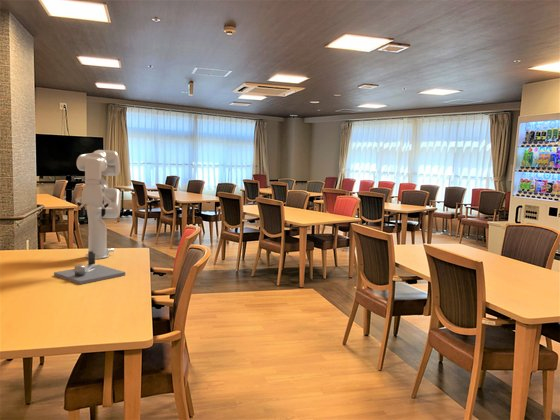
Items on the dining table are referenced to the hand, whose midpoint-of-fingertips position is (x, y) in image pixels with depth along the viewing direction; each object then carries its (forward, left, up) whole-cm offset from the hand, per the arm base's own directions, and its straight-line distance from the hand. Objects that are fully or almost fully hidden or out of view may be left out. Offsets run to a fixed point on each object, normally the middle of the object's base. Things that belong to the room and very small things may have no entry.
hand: (93, 215), depth 221 cm
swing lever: (+12, +12, -24) cm, 30 cm away
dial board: (+11, +15, -26) cm, 32 cm away
